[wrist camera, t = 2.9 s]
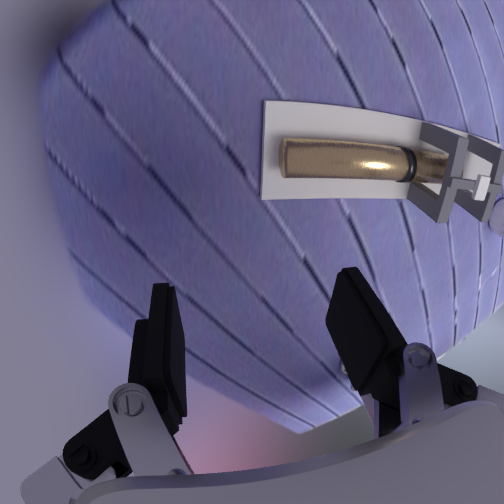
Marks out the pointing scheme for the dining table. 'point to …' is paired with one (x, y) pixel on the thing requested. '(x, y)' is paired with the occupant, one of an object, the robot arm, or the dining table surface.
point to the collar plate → (390, 134)
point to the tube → (359, 161)
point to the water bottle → (497, 218)
